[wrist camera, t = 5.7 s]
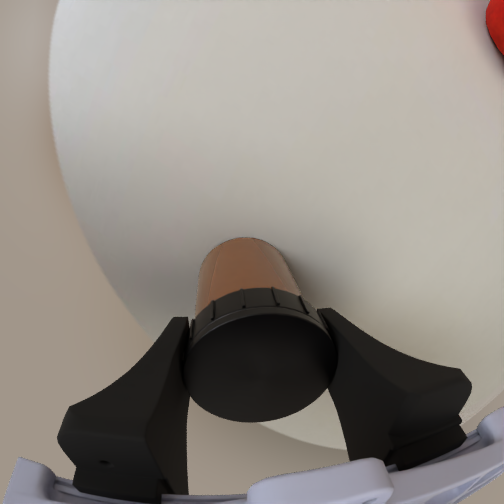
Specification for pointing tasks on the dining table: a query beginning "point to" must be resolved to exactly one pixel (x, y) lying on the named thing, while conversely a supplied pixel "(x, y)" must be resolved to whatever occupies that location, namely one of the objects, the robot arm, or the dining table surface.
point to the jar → (242, 270)
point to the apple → (496, 22)
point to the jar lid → (258, 355)
